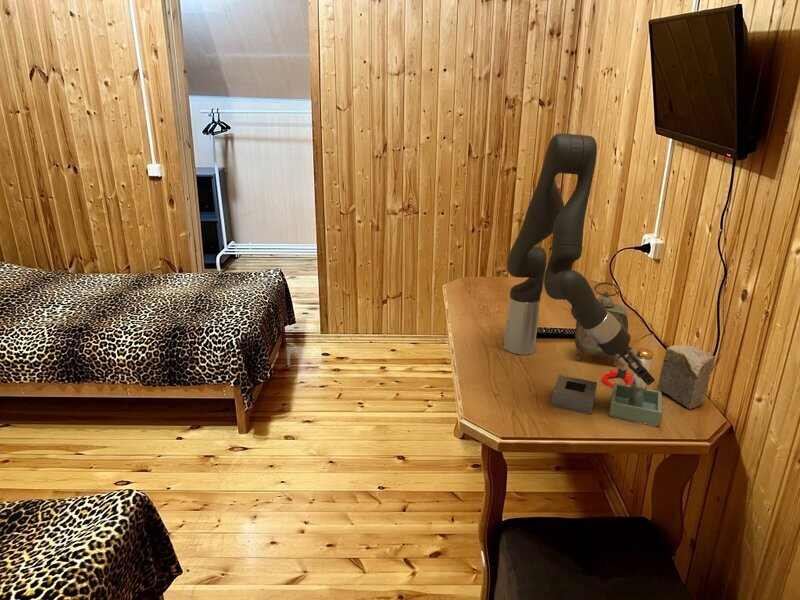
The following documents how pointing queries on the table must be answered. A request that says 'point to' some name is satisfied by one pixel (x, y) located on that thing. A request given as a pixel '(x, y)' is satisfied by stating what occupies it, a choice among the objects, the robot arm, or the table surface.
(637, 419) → the tray
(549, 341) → the table surface
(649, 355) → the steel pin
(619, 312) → the tabletop clock
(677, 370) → the geological specimen
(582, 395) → the block
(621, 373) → the tow hook
